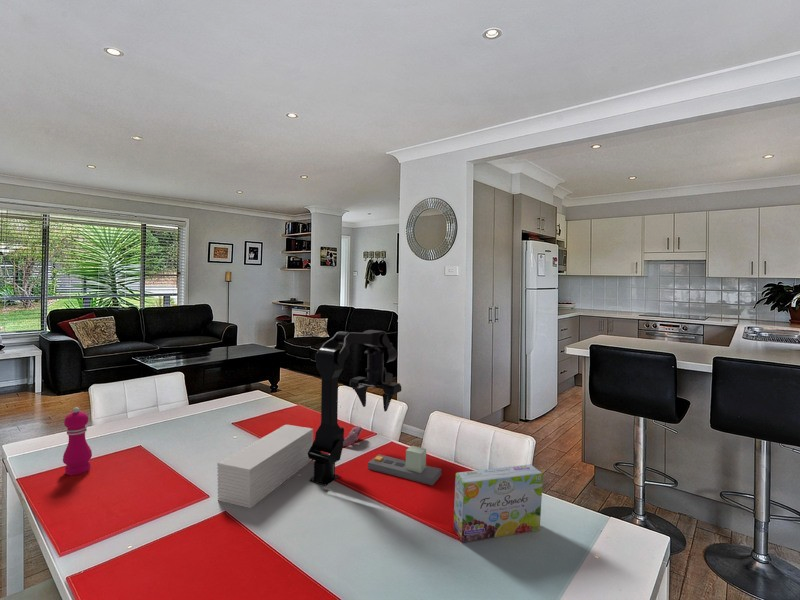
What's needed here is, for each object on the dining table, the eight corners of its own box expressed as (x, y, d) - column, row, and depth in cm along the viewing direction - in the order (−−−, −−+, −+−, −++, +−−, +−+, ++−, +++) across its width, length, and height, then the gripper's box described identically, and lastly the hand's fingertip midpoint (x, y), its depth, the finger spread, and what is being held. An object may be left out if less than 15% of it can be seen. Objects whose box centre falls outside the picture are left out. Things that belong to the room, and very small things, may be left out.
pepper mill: (58, 472, 131) (56, 408, 130) (84, 463, 138) (82, 402, 136) (70, 478, 128) (68, 412, 127) (97, 468, 134) (95, 406, 133)
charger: (420, 479, 129) (420, 453, 128) (405, 475, 131) (405, 450, 130) (425, 474, 132) (426, 448, 132) (411, 470, 134) (411, 445, 134)
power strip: (432, 488, 125) (432, 476, 125) (367, 471, 135) (367, 460, 135) (440, 478, 132) (441, 467, 131) (378, 463, 141) (378, 452, 141)
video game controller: (350, 452, 154) (358, 435, 153) (339, 445, 154) (347, 429, 153) (358, 441, 163) (366, 426, 162) (348, 435, 164) (356, 419, 163)
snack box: (462, 545, 100) (464, 482, 99) (452, 531, 105) (454, 471, 104) (541, 531, 106) (543, 471, 105) (528, 518, 111) (530, 462, 110)
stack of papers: (285, 454, 147) (285, 424, 146) (313, 459, 144) (313, 428, 143) (217, 501, 117) (217, 462, 116) (250, 509, 114) (249, 469, 113)
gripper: (409, 365, 154) (408, 407, 155) (367, 358, 163) (366, 399, 164) (393, 370, 144) (392, 416, 145) (349, 363, 154) (348, 406, 155)
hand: (374, 408), depth 152 cm, fingers open, 9 cm apart
